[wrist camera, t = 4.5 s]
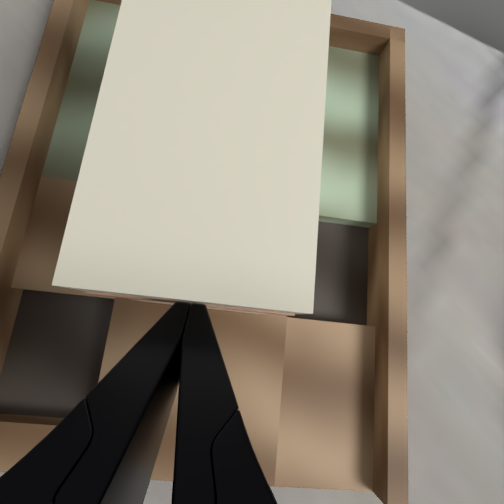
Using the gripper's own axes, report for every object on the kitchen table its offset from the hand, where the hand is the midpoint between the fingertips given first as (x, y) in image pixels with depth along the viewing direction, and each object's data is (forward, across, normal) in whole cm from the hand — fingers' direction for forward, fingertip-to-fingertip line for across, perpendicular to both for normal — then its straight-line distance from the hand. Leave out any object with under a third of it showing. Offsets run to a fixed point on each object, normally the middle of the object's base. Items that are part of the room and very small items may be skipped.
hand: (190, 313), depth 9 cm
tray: (+10, 0, +2) cm, 10 cm away
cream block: (+10, 0, +1) cm, 10 cm away
